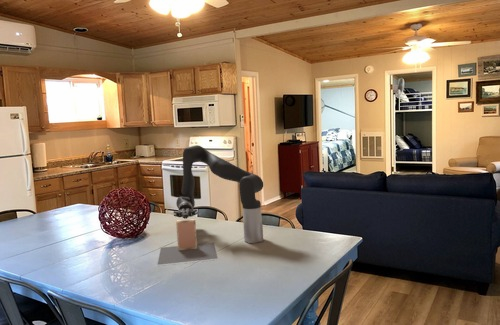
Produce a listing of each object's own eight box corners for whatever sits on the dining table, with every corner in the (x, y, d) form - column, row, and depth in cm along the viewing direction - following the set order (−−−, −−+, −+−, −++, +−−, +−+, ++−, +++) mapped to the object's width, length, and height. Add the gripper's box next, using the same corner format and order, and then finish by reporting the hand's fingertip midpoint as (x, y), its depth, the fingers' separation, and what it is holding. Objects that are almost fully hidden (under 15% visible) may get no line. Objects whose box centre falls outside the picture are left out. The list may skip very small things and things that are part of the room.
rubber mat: (214, 244, 200) (213, 242, 200) (217, 260, 176) (217, 258, 176) (161, 249, 196) (160, 247, 196) (157, 266, 172) (157, 264, 172)
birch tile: (197, 247, 194) (195, 218, 192) (197, 248, 192) (195, 219, 190) (178, 249, 192) (176, 220, 191) (178, 250, 190) (176, 221, 189)
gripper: (172, 203, 217) (171, 210, 200) (197, 201, 219) (198, 208, 202) (173, 216, 218) (172, 225, 201) (198, 215, 220) (199, 223, 203)
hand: (185, 216), depth 202 cm, fingers closed
